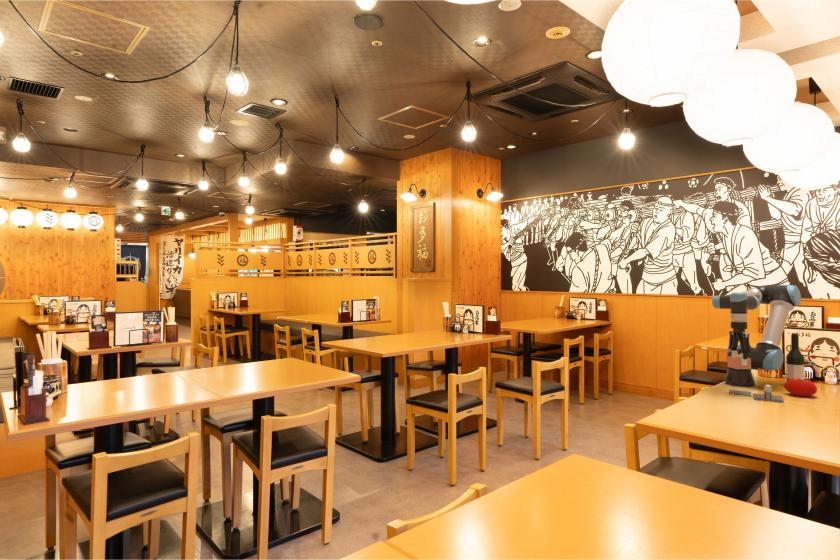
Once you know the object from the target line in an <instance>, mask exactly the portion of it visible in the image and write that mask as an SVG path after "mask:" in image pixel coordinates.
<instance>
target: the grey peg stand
mask: <svg viewBox="0 0 840 560" xmlns="http://www.w3.org/2000/svg"><path fill="white" fill-rule="evenodd" d="M772 387H773V386H772V385H771V384H763V394H762V393H754V392H753V393H752V394H753V400H754V401H761V400H765V401H764V402H771V401H773V403H781V404H783V403H784V402H785V401H784V399H783V396H782V395H775V394H773V393H772V392H773V388H772Z"/></svg>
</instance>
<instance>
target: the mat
mask: <svg viewBox="0 0 840 560" xmlns="http://www.w3.org/2000/svg"><path fill="white" fill-rule="evenodd" d="M731 394H734V395H733V396H741V395H743V397H752V392H751V391H747V390H746V391H745V390H735V389H729V390H728V395H731Z"/></svg>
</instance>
